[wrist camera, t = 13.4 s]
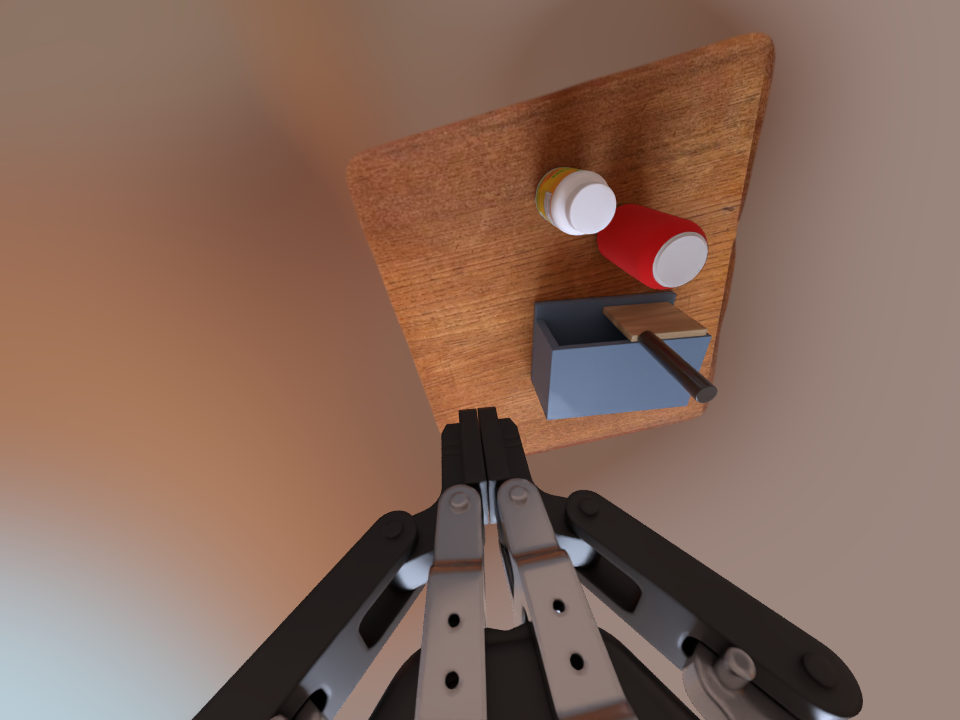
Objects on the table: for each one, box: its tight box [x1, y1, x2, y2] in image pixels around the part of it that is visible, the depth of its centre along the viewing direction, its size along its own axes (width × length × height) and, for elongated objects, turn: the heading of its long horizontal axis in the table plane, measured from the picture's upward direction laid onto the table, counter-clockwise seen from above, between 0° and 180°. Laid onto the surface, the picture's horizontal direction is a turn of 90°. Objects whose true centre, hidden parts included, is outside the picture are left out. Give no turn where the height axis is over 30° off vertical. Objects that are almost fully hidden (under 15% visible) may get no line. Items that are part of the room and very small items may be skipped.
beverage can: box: [597, 204, 708, 290], centre depth 34 cm, size 6×6×12 cm
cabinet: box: [531, 291, 712, 420], centre depth 43 cm, size 12×18×9 cm, turn 92°
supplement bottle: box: [535, 167, 616, 235], centre depth 33 cm, size 5×5×10 cm
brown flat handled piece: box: [603, 302, 717, 403], centre depth 36 cm, size 2×8×18 cm, turn 92°
